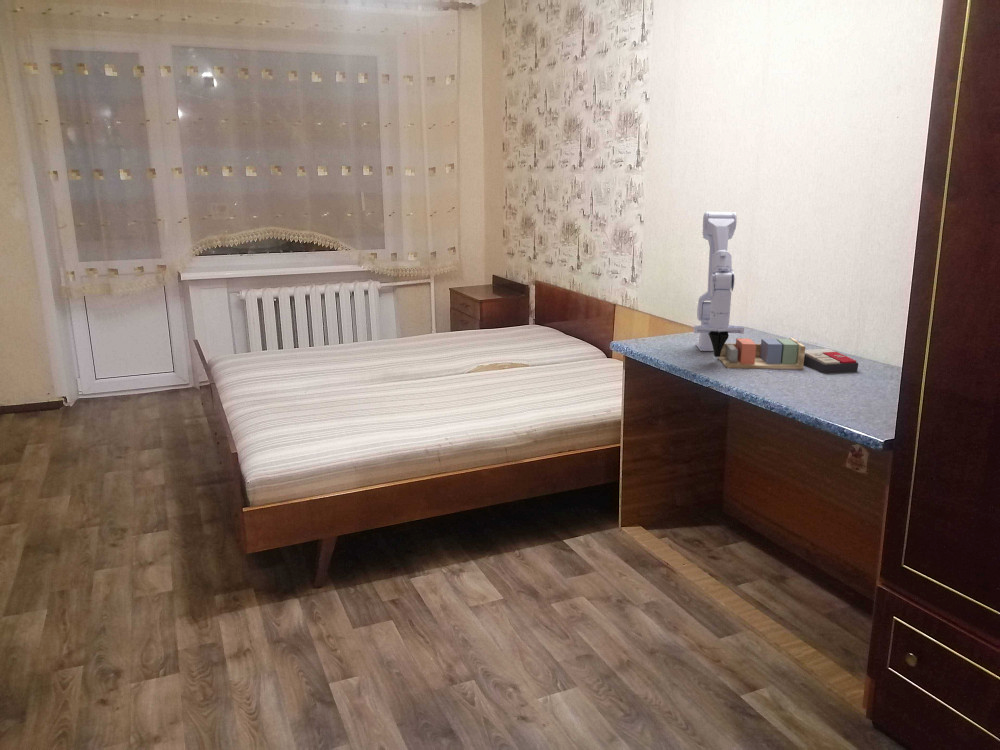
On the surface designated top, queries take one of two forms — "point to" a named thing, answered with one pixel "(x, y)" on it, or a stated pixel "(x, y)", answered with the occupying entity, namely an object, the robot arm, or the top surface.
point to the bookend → (731, 353)
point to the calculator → (829, 361)
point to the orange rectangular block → (746, 350)
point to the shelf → (760, 363)
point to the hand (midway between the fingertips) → (716, 356)
